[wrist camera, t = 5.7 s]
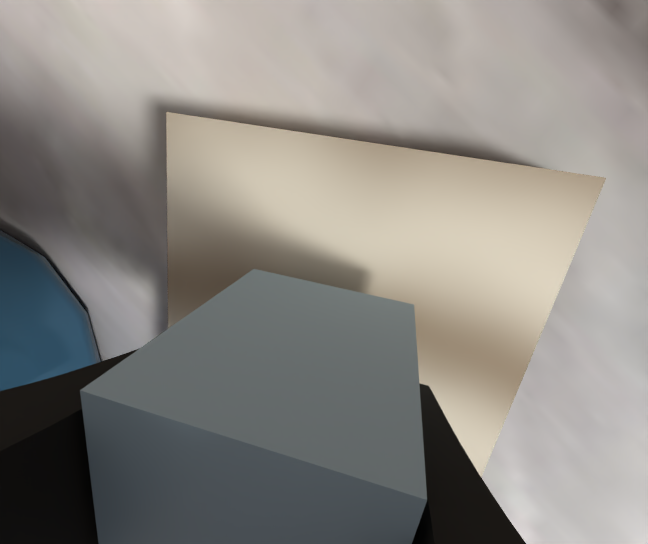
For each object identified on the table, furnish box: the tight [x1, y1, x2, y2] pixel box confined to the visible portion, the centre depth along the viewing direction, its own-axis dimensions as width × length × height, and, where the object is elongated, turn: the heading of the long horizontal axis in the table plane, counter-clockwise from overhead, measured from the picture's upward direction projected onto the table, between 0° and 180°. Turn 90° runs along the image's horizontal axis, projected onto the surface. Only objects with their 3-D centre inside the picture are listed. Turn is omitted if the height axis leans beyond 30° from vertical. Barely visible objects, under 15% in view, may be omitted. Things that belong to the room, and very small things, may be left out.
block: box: [80, 269, 427, 544], centre depth 7 cm, size 4×4×6 cm
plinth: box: [166, 112, 606, 477], centre depth 12 cm, size 12×12×2 cm
